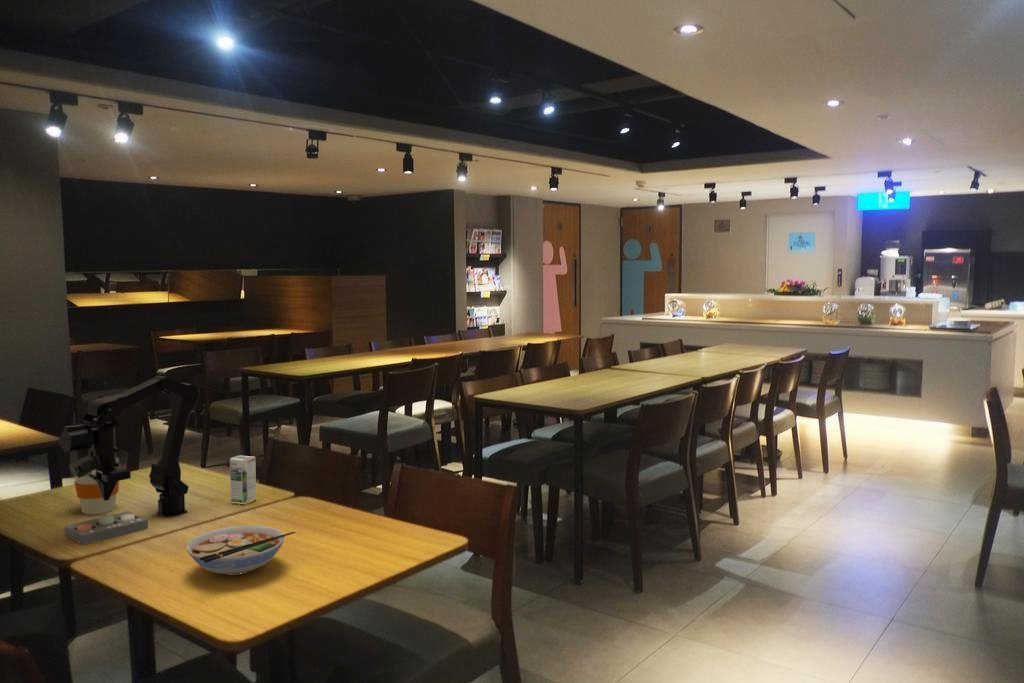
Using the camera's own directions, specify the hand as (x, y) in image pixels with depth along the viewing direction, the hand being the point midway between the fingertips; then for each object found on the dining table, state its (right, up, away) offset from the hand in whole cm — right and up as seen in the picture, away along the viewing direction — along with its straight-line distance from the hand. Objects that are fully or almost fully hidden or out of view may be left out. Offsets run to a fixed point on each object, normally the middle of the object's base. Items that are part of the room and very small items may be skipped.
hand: (106, 500), depth 215 cm
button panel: (0, -9, +1) cm, 9 cm away
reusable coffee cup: (-13, -7, +20) cm, 25 cm away
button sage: (0, -9, +1) cm, 9 cm away
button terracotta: (-4, -10, -4) cm, 11 cm away
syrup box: (+28, -7, +29) cm, 41 cm away
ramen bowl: (+46, -12, -25) cm, 54 cm away
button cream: (+4, -9, +5) cm, 11 cm away
